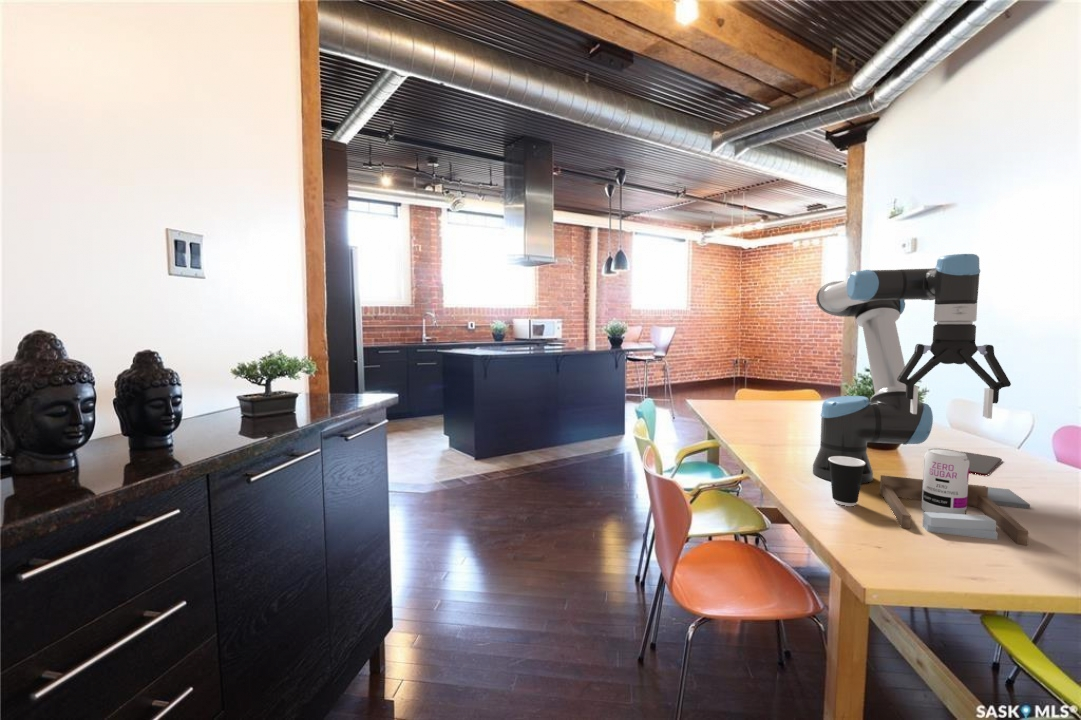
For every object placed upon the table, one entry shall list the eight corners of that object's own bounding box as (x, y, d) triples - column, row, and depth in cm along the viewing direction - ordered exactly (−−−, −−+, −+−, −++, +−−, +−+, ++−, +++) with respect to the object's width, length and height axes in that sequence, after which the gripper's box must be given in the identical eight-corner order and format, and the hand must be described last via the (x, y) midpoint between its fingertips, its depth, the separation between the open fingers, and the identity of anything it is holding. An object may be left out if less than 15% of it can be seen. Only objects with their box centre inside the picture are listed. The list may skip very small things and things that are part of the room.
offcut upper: (930, 526, 107) (931, 517, 107) (922, 520, 110) (923, 511, 110) (995, 530, 104) (996, 521, 104) (986, 524, 107) (986, 515, 107)
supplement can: (956, 510, 119) (959, 449, 118) (972, 523, 112) (977, 458, 111) (915, 506, 122) (919, 446, 121) (929, 519, 114) (933, 455, 113)
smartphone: (934, 465, 154) (954, 450, 170) (934, 469, 154) (954, 454, 170) (987, 474, 144) (1003, 457, 160) (987, 479, 145) (1002, 462, 160)
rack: (900, 527, 110) (901, 505, 109) (879, 493, 131) (880, 475, 131) (1028, 545, 101) (1030, 521, 100) (984, 505, 122) (985, 486, 122)
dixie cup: (871, 508, 121) (873, 464, 120) (839, 509, 120) (841, 465, 120) (849, 497, 129) (851, 455, 128) (819, 498, 128) (821, 456, 127)
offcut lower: (927, 533, 108) (927, 524, 108) (922, 528, 111) (922, 519, 110) (996, 541, 104) (997, 532, 103) (989, 535, 106) (990, 526, 106)
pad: (966, 501, 125) (967, 497, 125) (951, 486, 136) (951, 483, 136) (1029, 508, 120) (1030, 504, 120) (1008, 492, 131) (1009, 489, 131)
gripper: (892, 323, 115) (887, 414, 117) (1034, 323, 105) (1028, 422, 106) (885, 323, 122) (881, 409, 124) (1019, 322, 111) (1012, 416, 113)
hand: (949, 415), depth 115 cm, fingers open, 13 cm apart
